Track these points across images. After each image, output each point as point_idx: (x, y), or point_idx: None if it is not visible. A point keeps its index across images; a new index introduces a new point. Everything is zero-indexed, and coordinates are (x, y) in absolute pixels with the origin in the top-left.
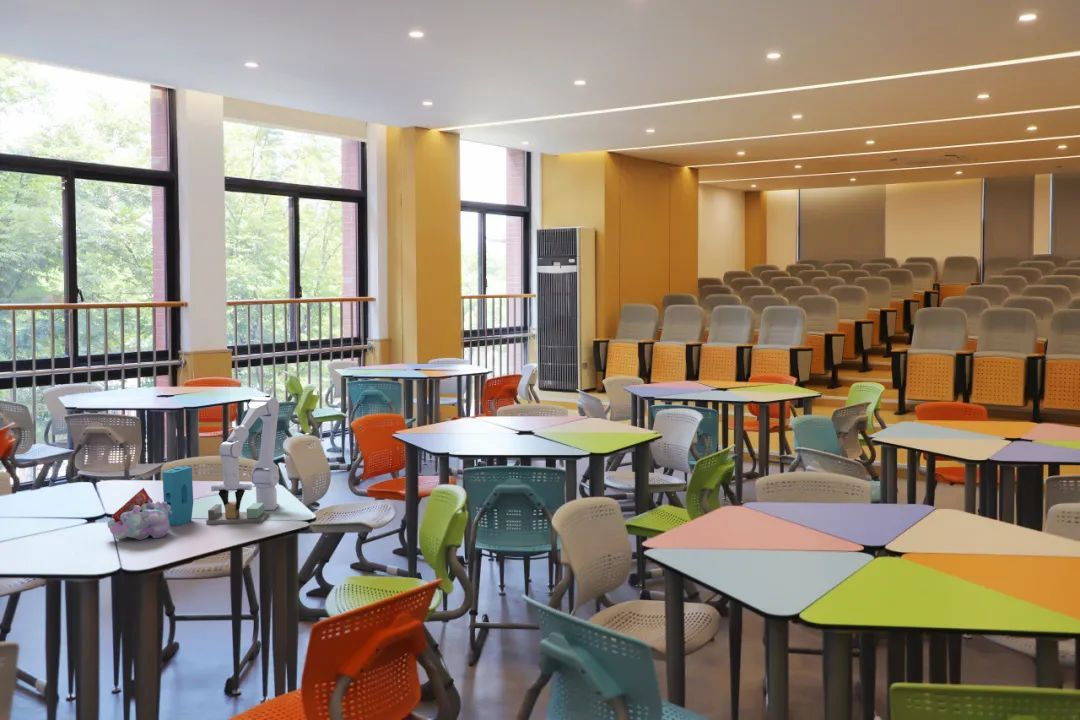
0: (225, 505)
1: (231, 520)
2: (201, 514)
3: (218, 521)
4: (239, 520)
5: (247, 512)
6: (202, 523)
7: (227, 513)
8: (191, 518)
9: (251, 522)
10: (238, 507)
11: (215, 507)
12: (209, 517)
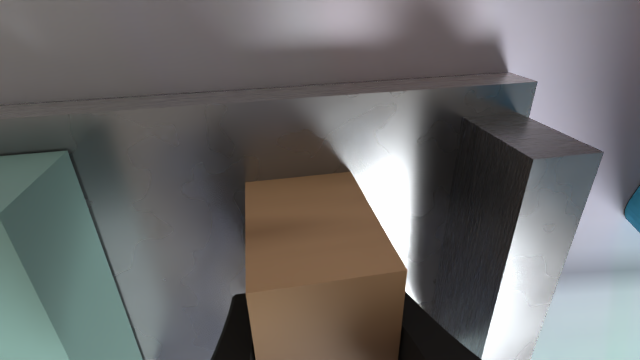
0: (395, 263)
1: (255, 98)
2: (555, 352)
3: (402, 86)
4: (155, 105)
5: (13, 187)
6: (544, 115)
7: (339, 201)
8: (637, 221)
9: (4, 105)
10: (229, 321)
11: (516, 292)
12: (521, 120)
